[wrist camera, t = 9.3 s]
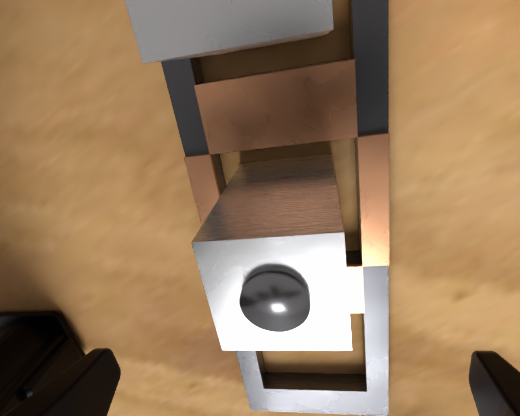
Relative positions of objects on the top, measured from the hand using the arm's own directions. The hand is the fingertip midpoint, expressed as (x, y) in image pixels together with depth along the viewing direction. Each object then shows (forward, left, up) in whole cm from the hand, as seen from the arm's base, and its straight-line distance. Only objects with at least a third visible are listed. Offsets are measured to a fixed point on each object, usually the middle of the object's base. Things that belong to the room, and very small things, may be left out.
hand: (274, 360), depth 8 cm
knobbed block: (0, 0, -10) cm, 10 cm away
